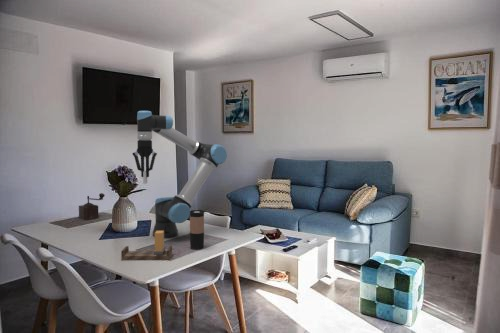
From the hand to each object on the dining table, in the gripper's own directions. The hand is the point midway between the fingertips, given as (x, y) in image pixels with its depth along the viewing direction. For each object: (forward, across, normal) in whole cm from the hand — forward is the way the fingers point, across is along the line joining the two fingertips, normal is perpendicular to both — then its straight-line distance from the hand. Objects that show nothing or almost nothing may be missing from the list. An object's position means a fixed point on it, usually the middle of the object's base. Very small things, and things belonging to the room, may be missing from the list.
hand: (145, 183), depth 198 cm
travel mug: (+35, +28, -5) cm, 45 cm away
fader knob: (+32, +11, -20) cm, 40 cm away
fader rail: (+34, +6, -20) cm, 40 cm away
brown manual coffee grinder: (+35, -55, +70) cm, 96 cm away
